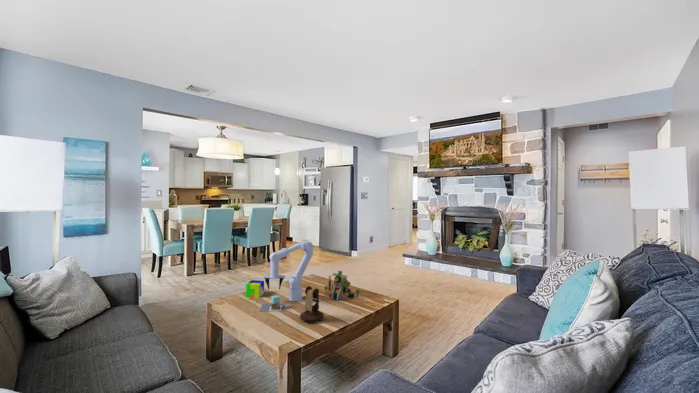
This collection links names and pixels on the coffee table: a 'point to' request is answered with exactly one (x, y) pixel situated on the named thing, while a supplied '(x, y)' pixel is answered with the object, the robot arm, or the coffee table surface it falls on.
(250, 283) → the puzzle toy
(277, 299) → the teal block
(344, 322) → the coffee table surface
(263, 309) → the grey flat plate
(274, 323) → the coffee table surface
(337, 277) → the toy construction set
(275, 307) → the walnut block
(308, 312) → the wooden figurine on stand
